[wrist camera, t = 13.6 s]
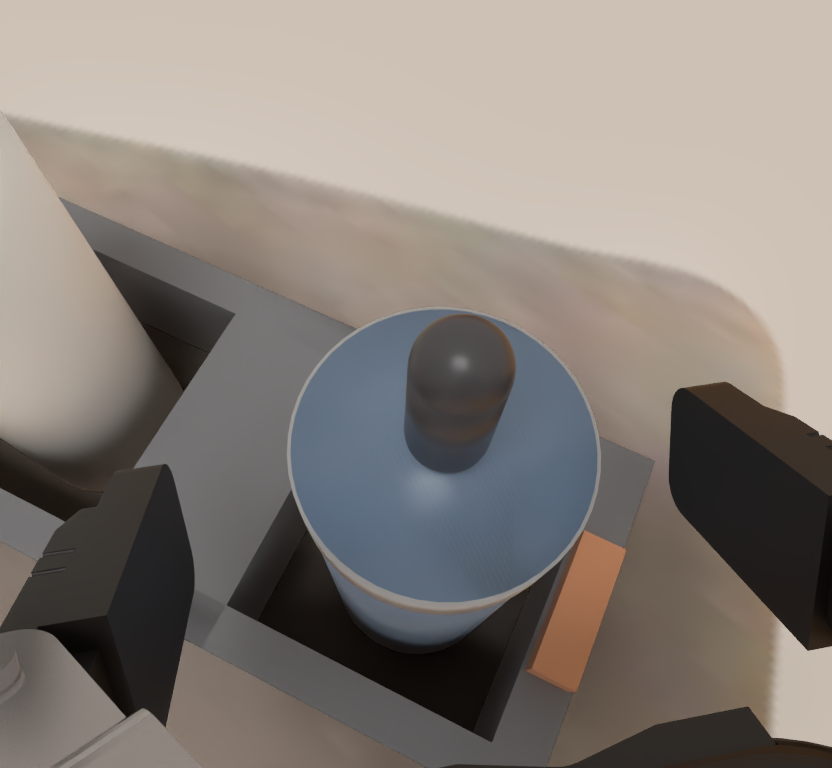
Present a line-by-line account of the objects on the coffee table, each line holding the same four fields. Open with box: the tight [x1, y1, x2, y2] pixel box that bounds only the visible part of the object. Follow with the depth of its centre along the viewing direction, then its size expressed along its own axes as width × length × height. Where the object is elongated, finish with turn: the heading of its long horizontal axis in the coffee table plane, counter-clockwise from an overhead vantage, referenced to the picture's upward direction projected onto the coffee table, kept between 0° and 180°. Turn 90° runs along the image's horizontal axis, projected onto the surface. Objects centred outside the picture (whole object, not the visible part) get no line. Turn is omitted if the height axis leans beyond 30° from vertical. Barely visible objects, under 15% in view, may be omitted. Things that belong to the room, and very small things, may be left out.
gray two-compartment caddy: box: [0, 112, 655, 768], centre depth 15 cm, size 19×8×14 cm, turn 65°
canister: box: [287, 307, 601, 654], centre depth 14 cm, size 4×4×14 cm
